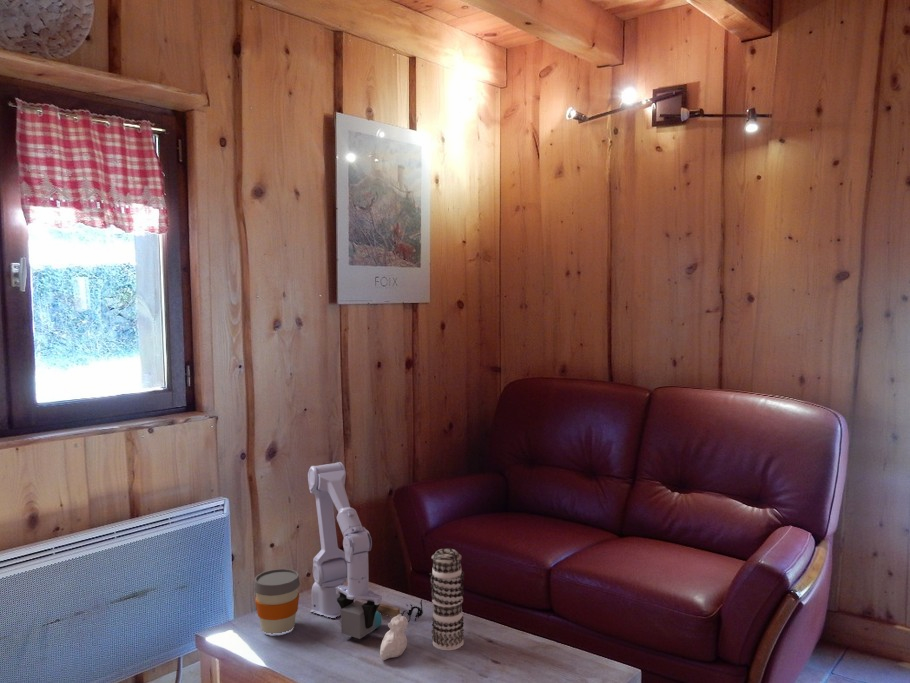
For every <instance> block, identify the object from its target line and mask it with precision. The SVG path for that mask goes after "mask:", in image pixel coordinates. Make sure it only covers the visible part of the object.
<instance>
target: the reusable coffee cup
mask: <svg viewBox="0 0 910 683" xmlns="http://www.w3.org/2000/svg"><path fill="white" fill-rule="evenodd" d="M300 584H301V583H300V578H299V573H298V572H297V571H296V570H294V569H290V568H277V569H276V568H275V569H268V570H265V571H262V572H261V573H259V574H257V575H256V576H255V577H254V583H253V591H254V592H255V598H254V599H255V600H254V601H255V608H256V613H257V617H259V622H260V628H261V629H260V630H261V632H262V631H264V632H266V633H271V634H273V633H282V632H286V631H289V630H291V629H292V628H293V627H294V625H295V624H296V614H297V612H298V609H299V602H300V601H299V599H300V593H299V587H300ZM294 628H295V627H294Z"/></svg>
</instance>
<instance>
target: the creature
mask: <svg viewBox="0 0 910 683" xmlns="http://www.w3.org/2000/svg"><path fill="white" fill-rule="evenodd" d="M422 602H423V599H422V598H421V599H420V607H419V606H418V605H415V606H413V604H411V603H410V604H407V603H405V605H406V607H407V609H408V610H407V609H404V610H403V611H402V612H401V613H400V614H401V616H404V614H405V613H406V615H407V617H408V616H409V617H408V618H409V619H408V620H407V621H408V623H410V621H411V617H412V614H413V611H414V609H417V612H416V614H415V615H414V616H415V617H414V621H417V618H418V619H419V618H420V617H422V615H423V614H424V610H423V603H422ZM409 605H410V606H411V607H410V606H409ZM408 607H410V609H409V608H408Z"/></svg>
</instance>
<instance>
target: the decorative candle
mask: <svg viewBox="0 0 910 683" xmlns="http://www.w3.org/2000/svg"><path fill="white" fill-rule="evenodd" d="M431 560H432V571H431V572H430V573H429V576H430V578H429V580H430V582H429V583H430V589H431V592H430V593H431V594H430V596H431V602H432V603H433V611H432V616H431V620H432V624H431V626H432V630H431V633H432V636H431V639H432V645H433V647H434V648H436V649H438V650H440V651H454V650H458V649H461V648H462V647H461V646H463V645H464V637H465V636H464V630H465V629H464V624H465V623H464V618H465V617H464V616H463V609H462V603H463V602H464V597H463V596H464V593H465V591H464V588H465V586H464V584H462V583H463V582H465V578H464V577H465V572H464V571H463V570H462V563H461V562H462V555H461V554H460V553H459V552H458V551H457V550H456V549H453V548H446V547H445V548H440V549H438V550H436V551H435V553H434V554H432V555H431Z"/></svg>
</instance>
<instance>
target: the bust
mask: <svg viewBox="0 0 910 683" xmlns="http://www.w3.org/2000/svg"><path fill="white" fill-rule="evenodd" d="M401 615H402V614H398V615H397V616H395V617H391V620H390V622H389V623H387V626H388V628H389V630H387V632H386V633H385V634H384V636H383V639H382V641H381V643H380V649H379V656H380V660H381V661H385V660H388V659H391V658H398V657H400V656H402V655H403V653H404V651H405V650H406V648H407V644H408V640H407V634H406V631H405V630H407V629H408V626H409V622H408V621H409V620H408V619H407V617H406V616H404V615H403V616H401Z"/></svg>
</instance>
